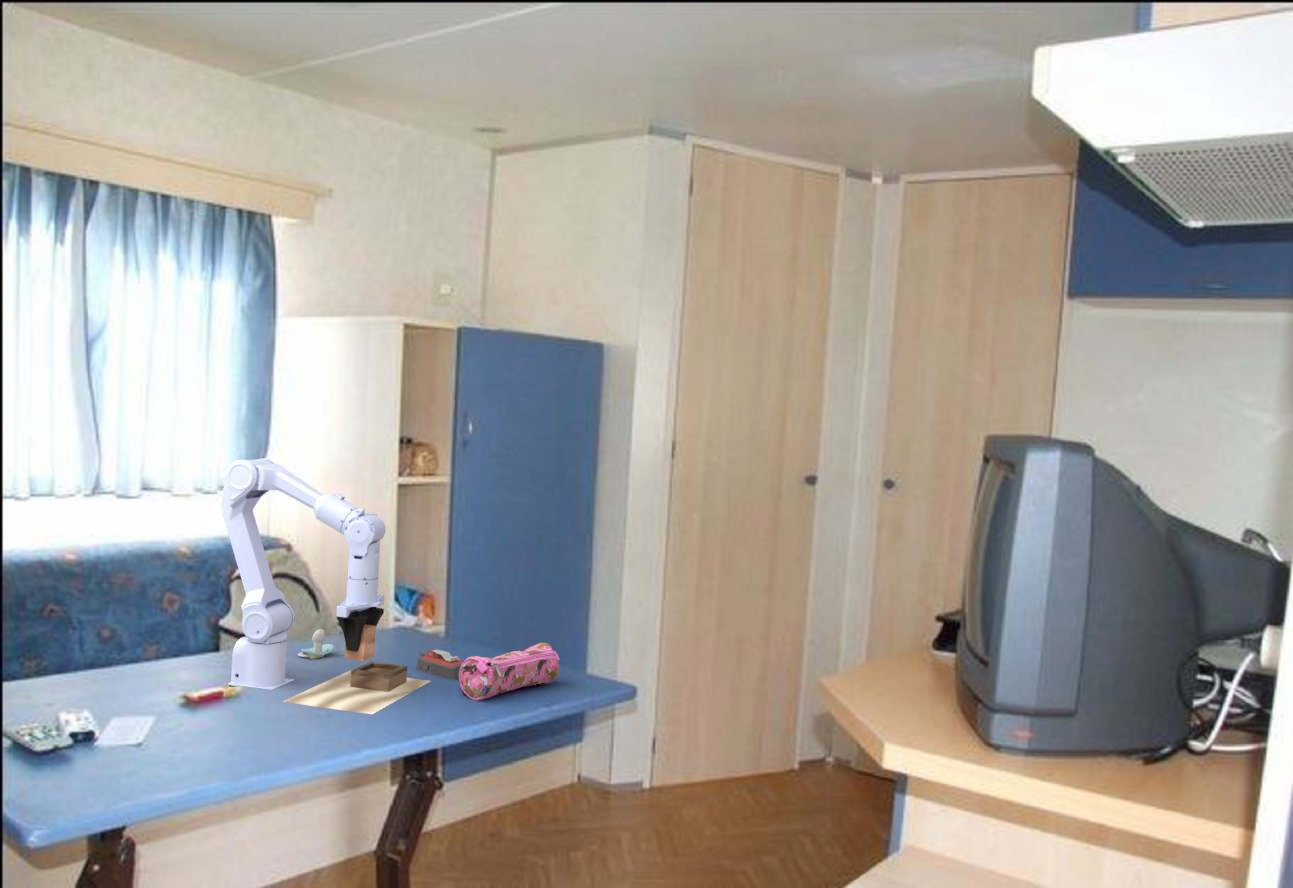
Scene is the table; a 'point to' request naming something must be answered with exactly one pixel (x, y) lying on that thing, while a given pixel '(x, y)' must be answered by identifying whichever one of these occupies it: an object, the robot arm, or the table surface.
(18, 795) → the table surface
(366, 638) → the block
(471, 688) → the pencil case
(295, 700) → the build mat
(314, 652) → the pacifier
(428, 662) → the grey red box
